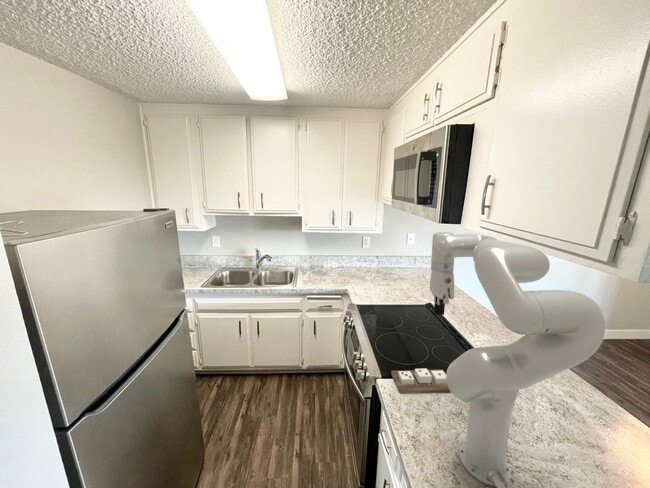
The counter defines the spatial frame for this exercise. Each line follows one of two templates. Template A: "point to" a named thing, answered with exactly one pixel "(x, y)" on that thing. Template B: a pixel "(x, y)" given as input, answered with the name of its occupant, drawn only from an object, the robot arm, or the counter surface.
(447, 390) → the keypad board
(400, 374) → the white square block
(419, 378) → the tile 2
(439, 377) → the keypad button
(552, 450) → the counter surface
